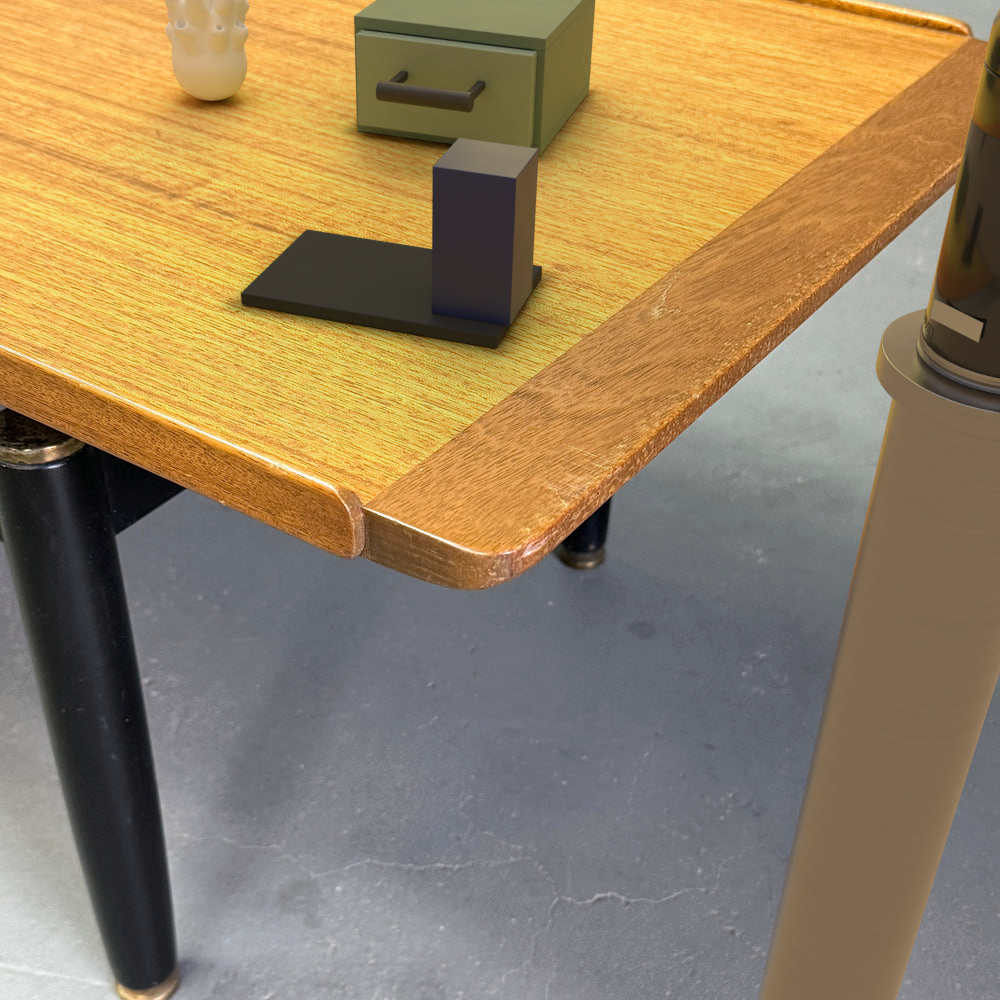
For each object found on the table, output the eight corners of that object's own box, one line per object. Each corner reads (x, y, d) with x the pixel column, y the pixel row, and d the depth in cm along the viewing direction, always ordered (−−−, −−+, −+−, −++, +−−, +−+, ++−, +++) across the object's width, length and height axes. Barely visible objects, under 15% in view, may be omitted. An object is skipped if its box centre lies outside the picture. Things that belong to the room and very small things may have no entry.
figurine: (172, 84, 116) (156, -68, 109) (253, 82, 117) (243, -68, 110) (171, 113, 110) (155, -46, 103) (257, 110, 111) (246, -47, 104)
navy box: (531, 291, 84) (538, 148, 79) (510, 326, 80) (516, 178, 75) (456, 279, 85) (458, 137, 80) (431, 313, 81) (432, 166, 76)
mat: (541, 277, 88) (542, 265, 87) (496, 348, 80) (497, 336, 79) (307, 240, 91) (306, 228, 91) (241, 305, 83) (240, 292, 83)
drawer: (511, 170, 100) (514, 75, 96) (334, 145, 103) (331, 51, 99) (576, 89, 115) (581, 3, 111) (420, 69, 118) (420, -15, 114)
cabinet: (539, 156, 105) (546, 38, 100) (356, 131, 108) (353, 15, 103) (589, 92, 117) (596, -15, 112) (423, 71, 121) (423, -34, 116)
